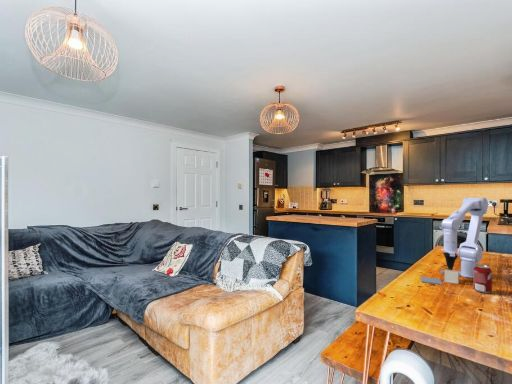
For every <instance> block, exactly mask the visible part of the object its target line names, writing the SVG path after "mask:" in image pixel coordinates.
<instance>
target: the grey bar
mask: <svg viewBox="0 0 512 384" xmlns="http://www.w3.org/2000/svg"><path fill="white" fill-rule="evenodd" d="M447 270H453V268H448V267H447ZM440 274H441V275H444V269H440ZM460 276H461V274H460V273H459V277H460Z"/></svg>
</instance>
